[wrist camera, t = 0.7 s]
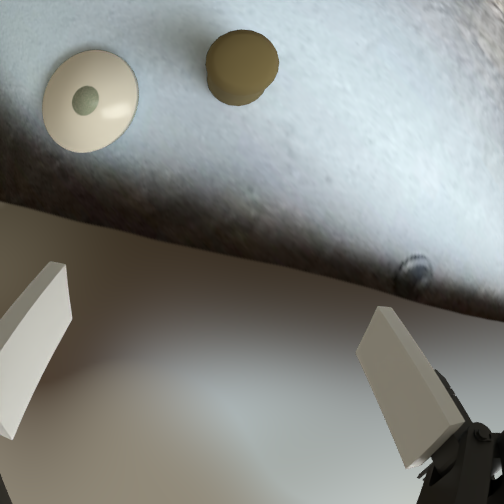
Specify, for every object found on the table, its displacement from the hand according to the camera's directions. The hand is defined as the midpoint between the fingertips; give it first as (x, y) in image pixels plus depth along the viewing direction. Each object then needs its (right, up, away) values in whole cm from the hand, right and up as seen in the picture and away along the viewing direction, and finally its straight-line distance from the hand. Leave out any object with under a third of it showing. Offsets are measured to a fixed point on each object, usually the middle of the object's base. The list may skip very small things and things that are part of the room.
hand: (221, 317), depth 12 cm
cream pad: (-16, +18, +15) cm, 28 cm away
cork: (0, +20, +16) cm, 25 cm away
